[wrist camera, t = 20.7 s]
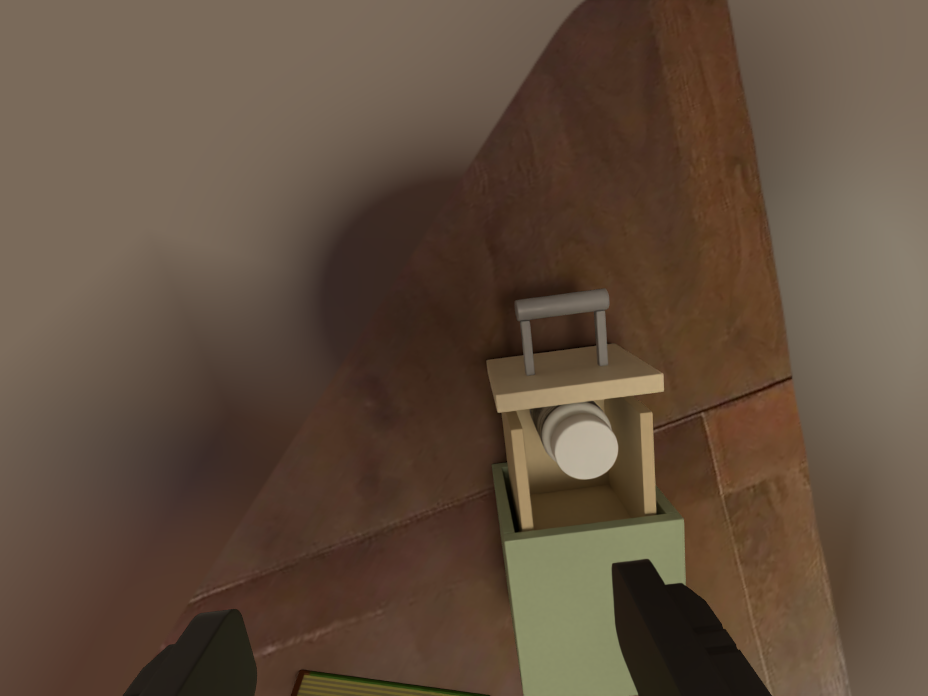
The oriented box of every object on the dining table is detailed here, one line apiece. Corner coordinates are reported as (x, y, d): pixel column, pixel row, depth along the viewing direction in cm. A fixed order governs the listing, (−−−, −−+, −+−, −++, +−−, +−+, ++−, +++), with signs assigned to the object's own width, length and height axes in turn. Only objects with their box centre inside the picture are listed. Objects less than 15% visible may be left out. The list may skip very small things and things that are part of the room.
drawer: (478, 295, 35) (485, 312, 27) (611, 277, 35) (660, 288, 27) (503, 498, 39) (516, 569, 31) (623, 483, 39) (669, 550, 31)
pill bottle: (599, 401, 36) (641, 446, 28) (559, 443, 37) (589, 500, 29) (555, 364, 36) (585, 400, 27) (516, 408, 36) (533, 456, 28)
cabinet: (491, 464, 40) (504, 541, 29) (624, 446, 39) (684, 518, 29) (508, 596, 43) (525, 709, 32) (631, 580, 42) (688, 689, 32)
